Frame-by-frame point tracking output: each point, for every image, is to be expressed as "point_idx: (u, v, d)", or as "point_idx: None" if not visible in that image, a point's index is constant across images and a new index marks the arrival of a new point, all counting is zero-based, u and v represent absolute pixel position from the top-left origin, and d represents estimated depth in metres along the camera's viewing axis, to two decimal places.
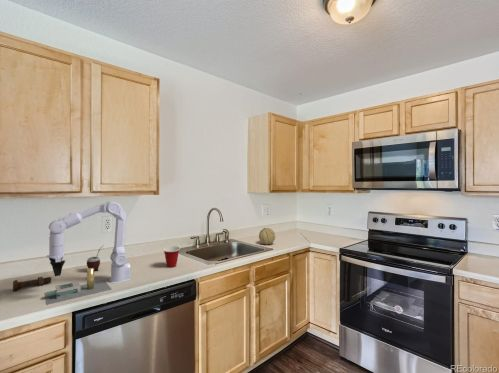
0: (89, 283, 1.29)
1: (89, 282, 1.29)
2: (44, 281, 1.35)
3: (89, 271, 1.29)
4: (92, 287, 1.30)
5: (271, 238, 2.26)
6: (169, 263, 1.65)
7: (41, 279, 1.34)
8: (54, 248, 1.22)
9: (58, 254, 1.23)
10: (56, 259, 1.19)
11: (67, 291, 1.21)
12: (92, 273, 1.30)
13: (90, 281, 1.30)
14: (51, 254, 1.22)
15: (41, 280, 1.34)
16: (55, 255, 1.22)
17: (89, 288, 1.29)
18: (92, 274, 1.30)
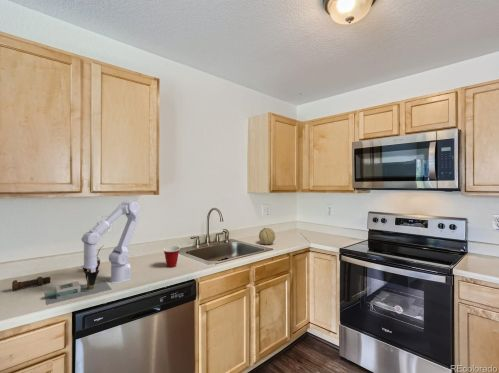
0: None
1: None
2: (43, 281, 1.36)
3: None
4: (92, 287, 1.30)
5: (271, 238, 2.26)
6: (169, 263, 1.65)
7: (41, 279, 1.35)
8: (89, 259, 1.28)
9: (92, 264, 1.29)
10: (91, 269, 1.25)
11: (67, 291, 1.21)
12: None
13: None
14: (86, 264, 1.28)
15: (41, 279, 1.35)
16: (89, 265, 1.28)
17: (89, 288, 1.29)
18: None
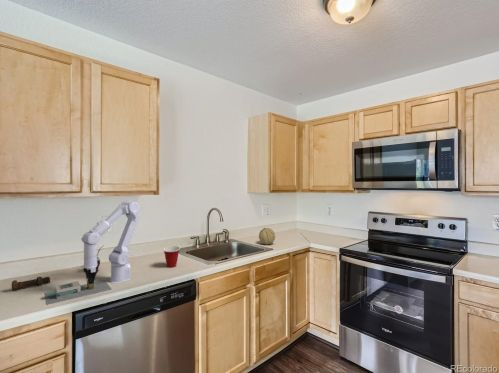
0: None
1: None
2: (43, 281, 1.36)
3: None
4: (92, 287, 1.30)
5: (271, 238, 2.26)
6: (169, 263, 1.65)
7: (40, 279, 1.35)
8: (89, 259, 1.28)
9: (92, 264, 1.29)
10: (91, 269, 1.25)
11: (67, 291, 1.21)
12: None
13: None
14: (86, 264, 1.28)
15: (40, 279, 1.35)
16: (89, 265, 1.28)
17: (89, 288, 1.29)
18: None
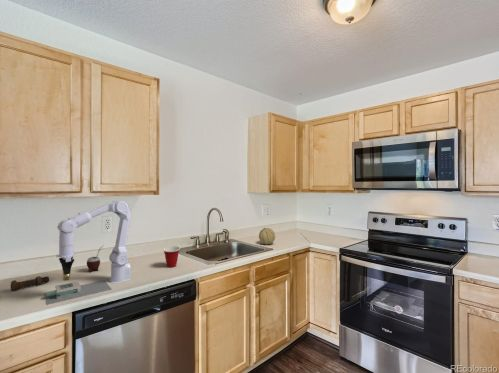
0: None
1: None
2: (42, 280, 1.36)
3: None
4: (68, 278, 1.24)
5: (271, 238, 2.26)
6: (169, 263, 1.65)
7: (40, 278, 1.35)
8: (64, 248, 1.21)
9: (68, 254, 1.22)
10: (66, 259, 1.18)
11: (67, 291, 1.21)
12: None
13: None
14: (61, 254, 1.21)
15: (40, 279, 1.35)
16: (65, 255, 1.21)
17: (65, 279, 1.23)
18: None
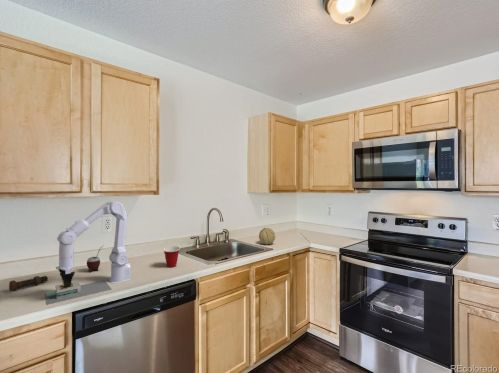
0: None
1: (64, 287, 1.23)
2: (41, 280, 1.37)
3: None
4: None
5: (271, 238, 2.26)
6: (169, 263, 1.65)
7: (38, 278, 1.36)
8: (64, 259, 1.21)
9: (68, 265, 1.22)
10: (66, 271, 1.18)
11: (67, 291, 1.21)
12: None
13: None
14: (61, 265, 1.21)
15: (39, 279, 1.36)
16: (65, 266, 1.22)
17: None
18: None
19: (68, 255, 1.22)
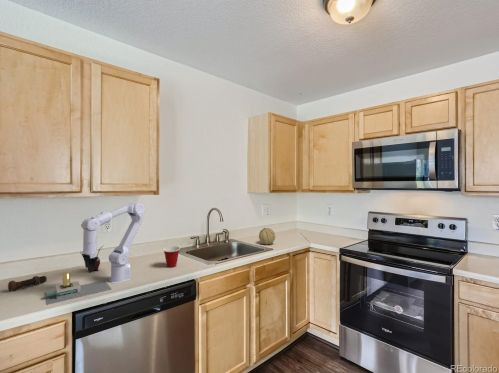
0: None
1: (65, 287, 1.23)
2: (40, 280, 1.37)
3: (65, 275, 1.23)
4: None
5: (271, 238, 2.26)
6: (169, 263, 1.65)
7: (37, 278, 1.36)
8: (88, 245, 1.28)
9: (91, 250, 1.29)
10: (91, 255, 1.24)
11: (67, 291, 1.21)
12: (68, 277, 1.24)
13: (66, 286, 1.23)
14: (85, 250, 1.28)
15: (38, 278, 1.36)
16: (89, 251, 1.28)
17: None
18: (68, 279, 1.24)
19: (92, 241, 1.29)
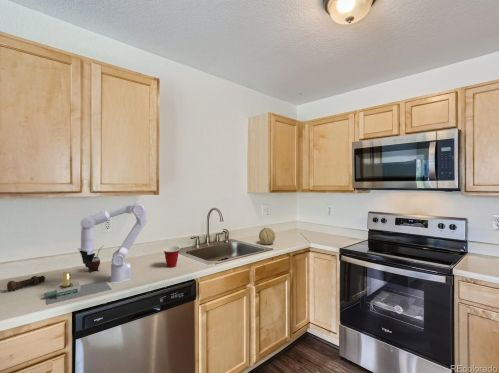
0: None
1: (65, 287, 1.23)
2: (39, 280, 1.37)
3: (65, 275, 1.23)
4: None
5: (271, 238, 2.26)
6: (169, 263, 1.65)
7: (36, 278, 1.36)
8: (85, 242, 1.34)
9: (89, 247, 1.35)
10: (88, 252, 1.31)
11: (67, 291, 1.21)
12: (68, 277, 1.24)
13: (66, 286, 1.23)
14: (83, 247, 1.34)
15: (37, 278, 1.36)
16: (86, 248, 1.34)
17: None
18: (68, 279, 1.24)
19: (86, 238, 1.34)
